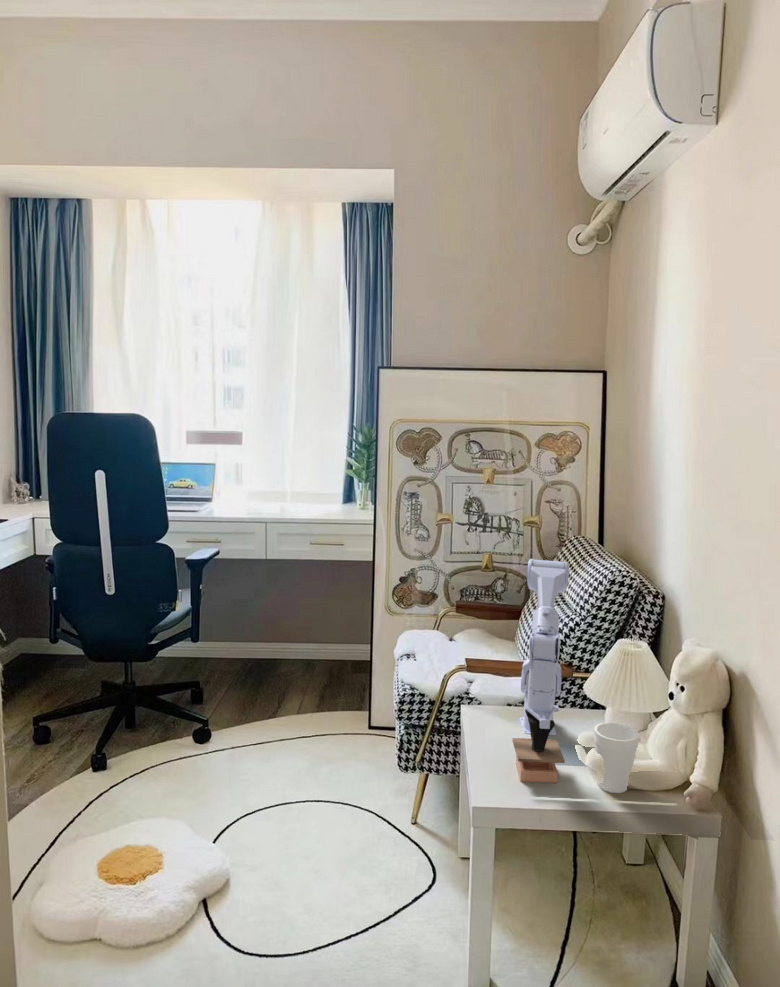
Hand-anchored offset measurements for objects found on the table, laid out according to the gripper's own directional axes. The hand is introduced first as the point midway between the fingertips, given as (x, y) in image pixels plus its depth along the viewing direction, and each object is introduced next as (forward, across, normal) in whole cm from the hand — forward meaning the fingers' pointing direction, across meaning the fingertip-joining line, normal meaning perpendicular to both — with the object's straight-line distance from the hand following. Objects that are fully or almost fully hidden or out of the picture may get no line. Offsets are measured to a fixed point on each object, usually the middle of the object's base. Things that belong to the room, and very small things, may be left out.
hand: (537, 745), depth 183 cm
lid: (+1, 0, 0) cm, 1 cm away
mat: (+7, +10, -8) cm, 15 cm away
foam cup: (+7, -4, -16) cm, 18 cm away
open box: (+7, 0, 0) cm, 7 cm away
